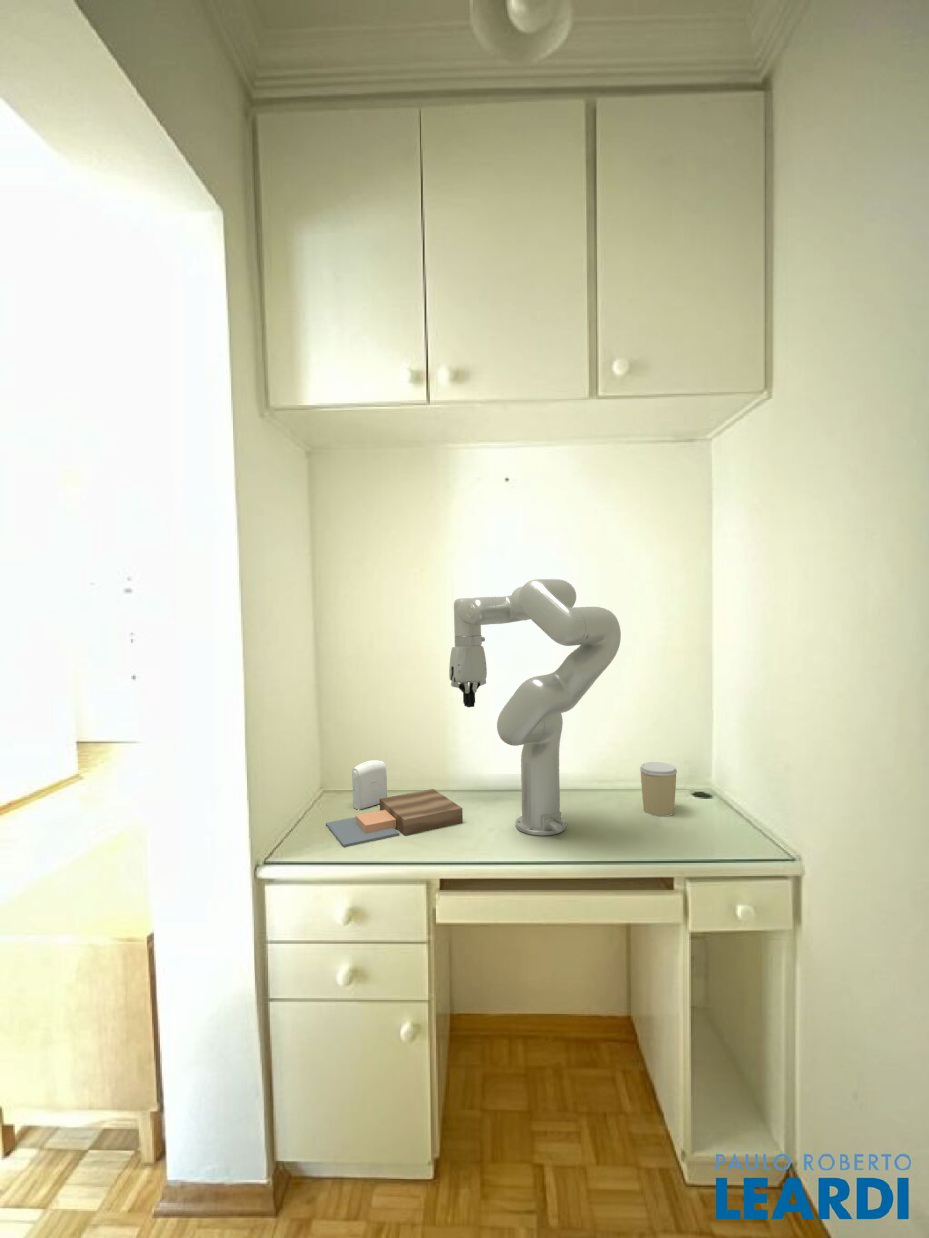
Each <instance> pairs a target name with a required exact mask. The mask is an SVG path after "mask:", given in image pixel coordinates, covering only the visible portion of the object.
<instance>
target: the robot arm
mask: <svg viewBox="0 0 929 1238" xmlns="http://www.w3.org/2000/svg"><path fill="white" fill-rule="evenodd" d="M576 601H577V592H576V589H575V587H574V586H573V585H572V584H571V583H569V581H566V580H564V579H559V578H558V579H556V578H554V579H553V578H549V579H548V578H544V579H542V578H541V579H540V578H539V579H538V578H536V579H532V580H529V581H527V582H526V583H524V585H523V586H520V587H516V589H515V590H513V592H512V593H511V595H506V596H485V597H484V596H481V597H480V596H479V597H469V598H467V597H465V598H457V599H456V600H455V601H454V602H453V622H454V623H453V624H454V625H453V626H454V631H453V633H454V646H452V647H451V651H450V657H449V670H448V673H449V674H448V677H449V678H448V679H449V680H450V681H451V684H450V686H451V687H453V688H457V689H459V690H460V691H461V693H462V698H463V699H462V700H463V701H462V702H463V705H464V707H466V708H474V707H475V703H476V693H477V692H478V689H479V688H480V686H484V685H486V684H487V674H488V673H487V672H488V670H487V658H486V653H485V649H484V646H482V643H483V642H485V641H486V637H484V636H482V626H488V625H501V624H502V625H503V624H504V625H505V624H510V623H518V622H521V621H528V620H531V621H532V622H533V623H534V624H535V625H536V626H537V627H539V628H540V629H541V631H542V632H544V634H546V635H547V636H548V637H549V638H550V639H551V640H553V641H554V642H555V643H557V644H558V645H561V646H565V647H572V646H578V647H577V648H575V649H574V650H572V652H571V653H569V654H568V655H567V656H566V657H565V659H564V660H563V662H562V663H561V664H560V665H559V666H558V668H557V669H556V670H554V672H550V673H548V674H541V675H536V676H532V677H529V678H527V680H524V681H523V682H522V683H520V685H519V687H518V688H517V689H515V691H514V693H513V695H511V697H510V698H509V700H508V701H507V702H506V704H505V705H504V707H503V708H502V710H501V711H500V713H499V715H498V717H497V720H496V721H497V722H496V730H497V731H496V732H497V734H498V736H499V738H500V740H502V742H504V743H505V744H507V745H509V746H515V747H516V746H522V745H523V746H522V750H521V757H520V776H521V777H520V779H521V785H520V786H521V788H520V789H521V816H519V817H518V818H517V819H516V820H515V827H516V828H517V830H519V831H520V832H522V833H524V834H528V835H532V836H545V837H546V836H552V835H553V836H554V835H557V834H560V833H562V832H564V831H565V830H566V829H567V823H568V822H567V821H566V819H564V818H563V817H562V812H561V807H560V806H561V804H560V803H561V801H560V800H561V798H560V797H561V796H560V794H561V793H560V747H561V737H562V732H563V726H564V725H563V723H564V722H563V719H564V718H563V715H562V714H564V713H568V712H569V711H571V710H572V709H574V707H576V705H577V704H578V703H579V701H580V700H582V698H583V697H584V695H585V694H586V693H587V692H588V691H589V690H590V688H591V687H592V686H593V685H594V683H595V682H596V681H597V679H599V677H600V676H601V675H602V674H603V672H604V671H605V670H606V669H607V668H608V667H609V666H610V664H611V663H612V662H613V660H614V659H615V657H616V655H617V653H618V651H619V649H620V646H621V645H620V644H621V638H622V637H621V636H622V635H621V634H622V633H621V627H620V626H621V625H620V622H619V620H618V618H617V616H616V615H615V614H614V613H613V612H612V611H610V610H609V609H606V608H604V607H601V606H579V607H578V606H576V607H574V606H575V603H576Z"/></svg>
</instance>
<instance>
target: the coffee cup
mask: <svg viewBox="0 0 929 1238" xmlns="http://www.w3.org/2000/svg"><path fill="white" fill-rule="evenodd" d="M639 771H640V783H641V794H642V806H643V811H644V813H645V814H648V815H650V814H651V816H654V815H657V816H656V817H668V816H667V815H670V816H672V815H674V813H675V802H676V789H677V787H676V785H677V773H678V771H677V768H676V766H674V765H673V764H671V763H667V762H659V761H656V762H655V761H654V762H653V761H650V762H644V763H642V764H641V765H640V767H639ZM671 814H672V815H671Z"/></svg>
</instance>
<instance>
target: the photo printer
mask: <svg viewBox="0 0 929 1238" xmlns="http://www.w3.org/2000/svg"><path fill="white" fill-rule="evenodd" d="M351 779H352V780H351V782H352V784H351V785H352V803H353V808H354V809H355V810H358V809H360V810H363V809H366V808H370V807H373V806H375V805H376V806H377V805H380V798H386V797H388V782H387V781H388V779H387V766H386V763H385V762H384V761H382V760H377V759H376V760H375V759H372V760H371V759H370V760H368V761H364V762H362V763H358V765H356V766H355V767H353V769H352V771H351Z"/></svg>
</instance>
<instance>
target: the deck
mask: <svg viewBox="0 0 929 1238" xmlns="http://www.w3.org/2000/svg"><path fill="white" fill-rule="evenodd" d="M381 810H386V811H387V812H388V813H390V814H391V815H392V816H393V817H394V818H395V819H396V827H395V829H397V831H398V832H399V833H401V834H402V835H403V836H404V837H406V836H409V835H410V836H411V835H415V834H420V833H424V832H428V831H432V830H433V831H435V830H438V829H442V828H449V827H452V826H458V825H461V824H463V823H464V821H463V820H464V819H463V807H462V806H460V805H458V804H457V803H455V802H454V801H453V800H451V799H450V798H448V797H447V796H445V795H443V794H442V793H440V792H439V791H438V790H436V789H434V788H431V789H425V790H419V791H415V792H409V793H403V794H399V795H392V796H387V797H386V798H380V804H379V811H381Z"/></svg>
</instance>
